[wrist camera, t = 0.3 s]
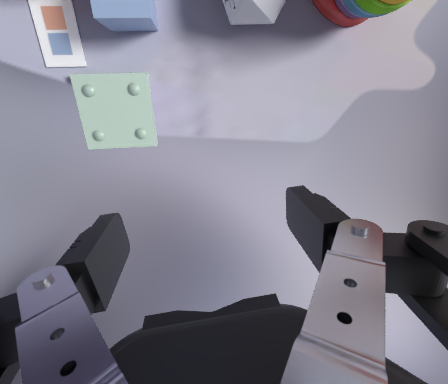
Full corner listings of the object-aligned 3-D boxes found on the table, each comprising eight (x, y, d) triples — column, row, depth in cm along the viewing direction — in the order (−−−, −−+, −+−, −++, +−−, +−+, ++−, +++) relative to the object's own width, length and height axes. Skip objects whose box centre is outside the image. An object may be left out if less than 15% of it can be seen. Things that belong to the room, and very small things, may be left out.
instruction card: (26, -8, 29) (25, -9, 29) (70, -8, 29) (69, -9, 29) (47, 67, 32) (46, 67, 32) (86, 66, 32) (85, 66, 32)
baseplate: (73, 75, 33) (68, 74, 32) (148, 73, 34) (146, 72, 32) (90, 148, 37) (87, 150, 35) (158, 144, 37) (156, 146, 36)
